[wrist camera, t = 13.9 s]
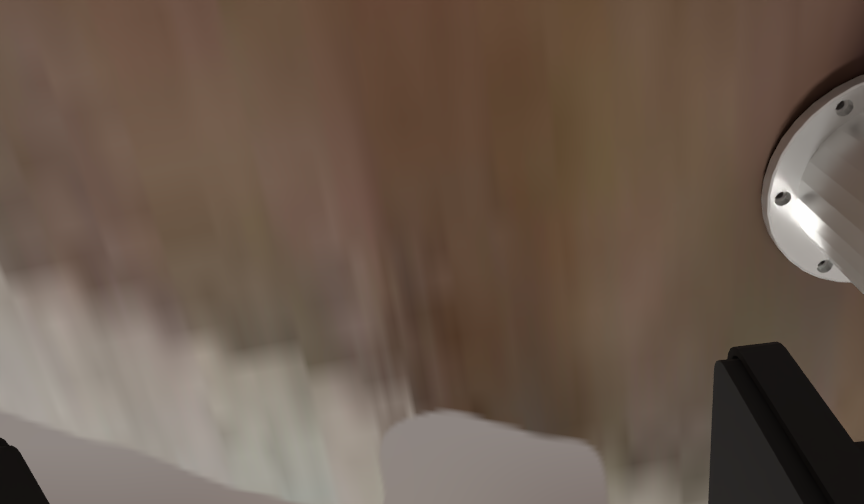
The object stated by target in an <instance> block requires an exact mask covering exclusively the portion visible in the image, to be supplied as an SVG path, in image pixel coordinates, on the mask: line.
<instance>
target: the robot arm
mask: <svg viewBox="0 0 864 504" xmlns="http://www.w3.org/2000/svg"><path fill="white" fill-rule="evenodd" d="M839 103H840V104H839ZM838 104H839V105H838ZM837 105H838V106H837ZM778 193H779V194H778ZM777 194H778V195H777ZM761 202H762V213H763V219H764V222H765V225H766V228H767V231H768V233H769V235H770V237H771V238H772V240H773V241H774V243H775V244H776V246H777V247H778V249H779V250H780V251H781V252H782V253H783V254H784V255H785V256H786V257H787V258H788V259H789V261H791V262H792V263H794V264H795V265H796V266H798V267H799V268H800V269H802V270H803V271H805V272H807V273H809V274H811V275H814V276H816V277H819V278H822V279H827V280H832V281H836V282H852V283H853V284H854V285H855V286H856V287H857V288H858V289H859V290H860V291H861V292H862V293H863V294H864V75H860V76H858V77H856V78H854V79H852V80H850V81H848V82H846V83H844V84H842V85H840V86H838V87H836V88H834V89H833V90H831V91H830V92H828V93H827V94H826V95H824V96H823V97H821V98H820V99H819V100H817V101H816V102H814V103H813V104H812V105H811V106H810V107H809V108H808V109H807V110H806V111H805V112H804V113H803V114H802V115H801V116H800V117H799V118H797V119H796V121H795V122H794V123H793V124H792V126H791V127H790V128H789V130H788V131H787V132H786V133H785V135H784V136H783V137H782V139H781V140H780V142H779V144H778V146H777V148H776V150H775V151H774V153H773V155H772V157H771V159H770V162H769V165H768V168H767V171H766V174H765V177H764V180H763V188H762V196H761ZM0 504H49V502H48V500H47V499H46V497H45V495H44V493H43V492H42V490H41V488H40V486H39V485H38V483H37V481H36V479H35V478H34V476H33V474H32V473H31V471H30V469H29V467H28V466H27V464H26V462H25V460H24V459H23V457H22V455H21V453H20V452H19V451H18V449H17V448H15V447H14V446H9V445H8V443H7V442H6V441H5V440H4V439H2V438H0ZM708 504H864V441H861V442H853V440H852V439H851V437H850V436H849V435H848V433H847V432H846V431H845V429H844V428H843V426H842V425H841V424H840V422H839V421H838V420H837V418H836V417H835V415H834V414H833V413H832V411H831V410H830V409H829V407H828V406H827V404H826V403H825V402H824V400H823V399H822V398H821V396H820V395H819V393H818V392H817V391H816V389H815V388H814V387H813V385H812V384H811V382H810V381H809V380H808V378H807V377H806V375H805V374H804V373H803V371H802V370H801V369H800V367H799V366H798V364H797V363H796V362H795V360H794V359H793V358H792V356H791V355H790V353H789V352H788V351H787V349H786V348H785V347H784V346H783V345H782V344H781V343H779V342H771V343H763V344H754V345H746V346H738V347H733V348H731V349H730V351H729V353H728V359H727V360H719V361H716V363H715V367H714V385H713V408H712V431H711V454H710V478H709V501H708Z"/></svg>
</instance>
